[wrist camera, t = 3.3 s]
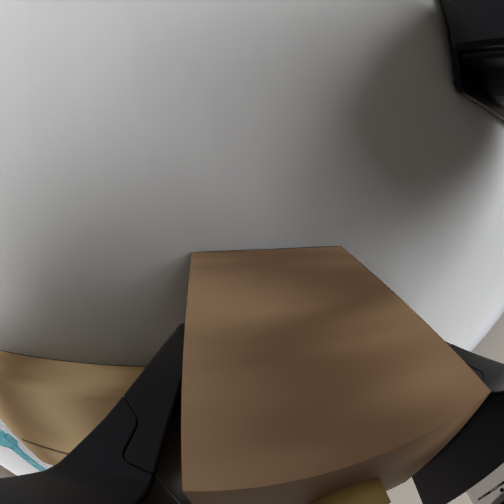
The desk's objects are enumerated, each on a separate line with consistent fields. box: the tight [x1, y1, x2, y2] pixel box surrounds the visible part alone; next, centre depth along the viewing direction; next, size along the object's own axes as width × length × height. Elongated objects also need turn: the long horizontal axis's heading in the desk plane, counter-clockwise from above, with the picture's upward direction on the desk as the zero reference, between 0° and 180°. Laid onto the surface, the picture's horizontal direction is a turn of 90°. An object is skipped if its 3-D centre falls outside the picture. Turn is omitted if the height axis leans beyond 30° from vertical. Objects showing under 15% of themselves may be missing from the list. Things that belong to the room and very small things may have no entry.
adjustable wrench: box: [0, 430, 46, 471], centre depth 14 cm, size 14×1×5 cm
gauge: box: [181, 246, 491, 504], centre depth 8 cm, size 5×12×8 cm, turn 179°
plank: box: [0, 351, 145, 465], centre depth 11 cm, size 20×10×2 cm, turn 89°
